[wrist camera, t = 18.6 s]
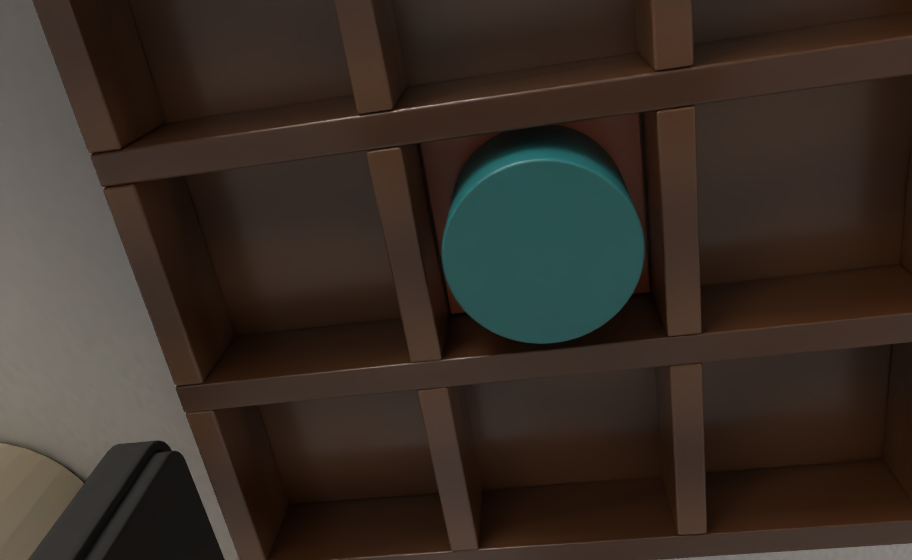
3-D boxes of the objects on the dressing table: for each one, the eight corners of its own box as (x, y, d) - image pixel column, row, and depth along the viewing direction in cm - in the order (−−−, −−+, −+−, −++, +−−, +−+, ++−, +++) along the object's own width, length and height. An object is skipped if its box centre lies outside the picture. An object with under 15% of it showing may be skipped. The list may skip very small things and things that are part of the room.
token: (437, 136, 19) (425, 174, 16) (620, 110, 18) (639, 144, 15) (465, 296, 21) (458, 354, 18) (632, 277, 20) (650, 334, 17)
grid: (59, -149, 17) (-29, -161, 15) (981, -336, 15) (1090, -394, 12) (277, 512, 25) (248, 586, 23) (898, 464, 23) (952, 541, 20)
